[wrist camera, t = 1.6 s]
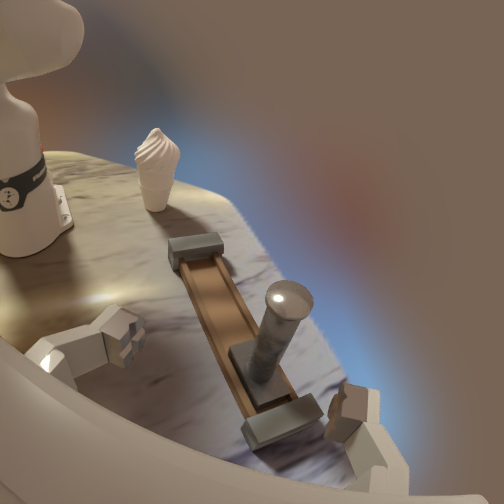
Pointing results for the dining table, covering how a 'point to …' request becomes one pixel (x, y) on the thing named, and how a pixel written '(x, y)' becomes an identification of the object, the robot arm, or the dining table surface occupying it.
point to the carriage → (271, 344)
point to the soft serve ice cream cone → (156, 169)
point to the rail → (234, 336)
